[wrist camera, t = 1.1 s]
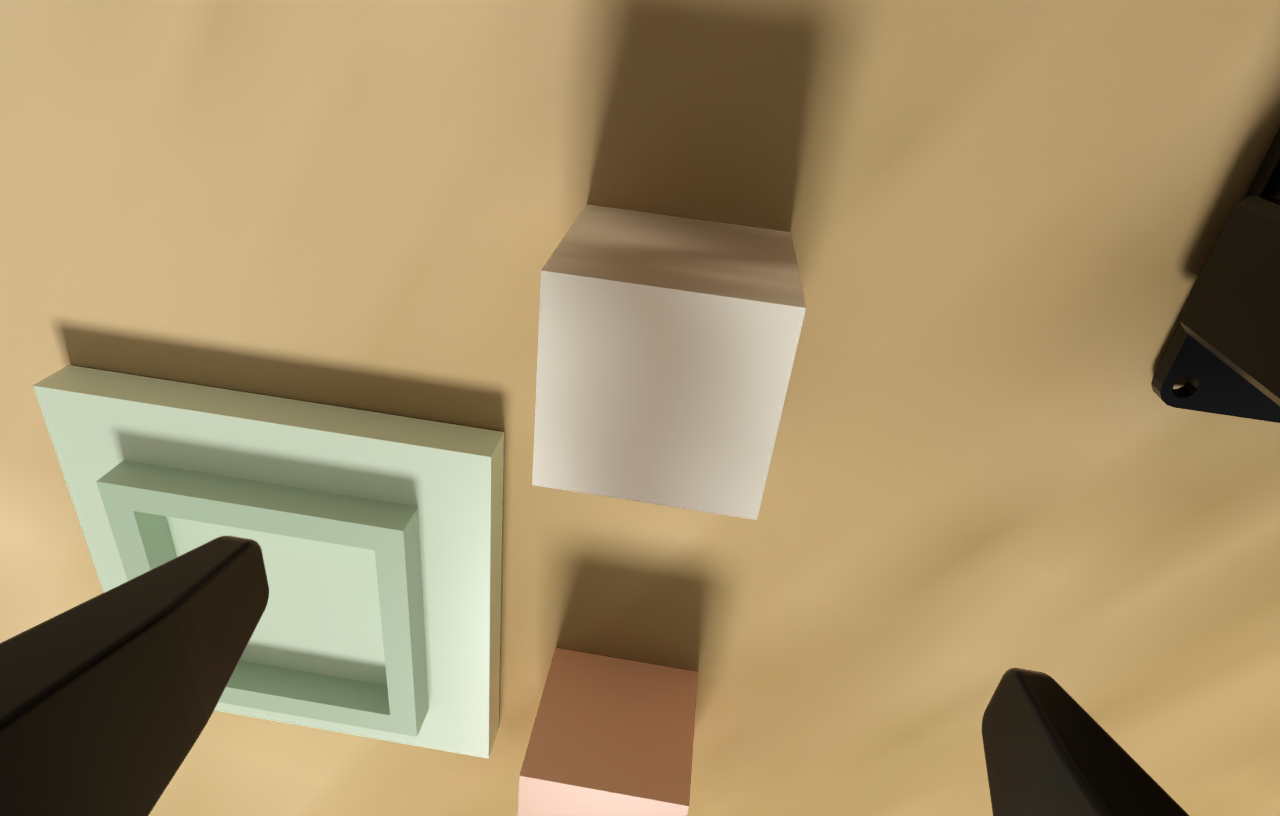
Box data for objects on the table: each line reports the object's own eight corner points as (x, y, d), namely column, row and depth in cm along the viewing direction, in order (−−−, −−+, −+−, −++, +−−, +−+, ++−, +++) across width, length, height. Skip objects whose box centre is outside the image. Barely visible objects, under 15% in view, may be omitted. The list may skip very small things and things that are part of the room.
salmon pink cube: (698, 669, 23) (689, 806, 20) (678, 760, 26) (666, 899, 22) (556, 645, 24) (519, 775, 20) (549, 737, 26) (515, 870, 22)
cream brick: (790, 230, 16) (806, 307, 13) (753, 408, 19) (756, 519, 15) (587, 203, 17) (540, 270, 13) (575, 381, 19) (532, 484, 15)
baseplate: (504, 432, 20) (478, 480, 18) (498, 727, 26) (479, 786, 24) (68, 365, 20) (-1, 404, 18) (163, 669, 26) (118, 722, 24)
